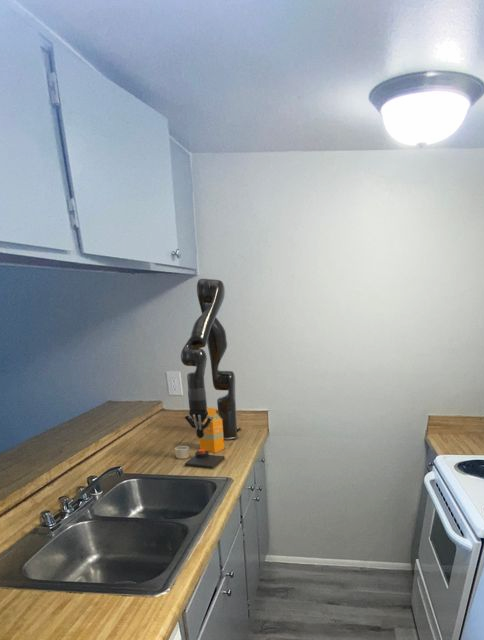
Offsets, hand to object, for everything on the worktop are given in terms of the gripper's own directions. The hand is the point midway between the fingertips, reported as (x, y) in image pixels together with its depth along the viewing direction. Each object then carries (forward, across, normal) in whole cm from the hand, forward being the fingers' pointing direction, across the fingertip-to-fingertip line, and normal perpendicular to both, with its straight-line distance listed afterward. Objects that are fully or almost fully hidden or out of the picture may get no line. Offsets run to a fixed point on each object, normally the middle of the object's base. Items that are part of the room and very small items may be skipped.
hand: (200, 437), depth 211 cm
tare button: (+7, 0, 0) cm, 7 cm away
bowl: (+10, +10, 0) cm, 14 cm away
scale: (+10, -3, +4) cm, 11 cm away
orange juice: (+10, +2, -15) cm, 18 cm away
